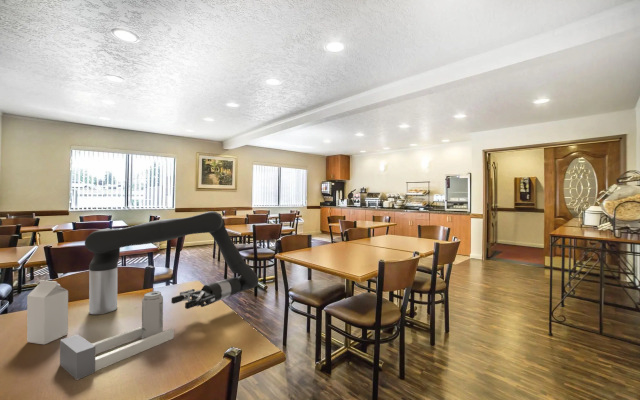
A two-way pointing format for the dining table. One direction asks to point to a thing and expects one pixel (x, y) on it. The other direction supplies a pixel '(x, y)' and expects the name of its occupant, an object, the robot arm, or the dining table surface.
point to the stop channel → (81, 353)
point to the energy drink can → (152, 314)
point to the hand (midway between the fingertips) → (178, 303)
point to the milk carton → (47, 313)
